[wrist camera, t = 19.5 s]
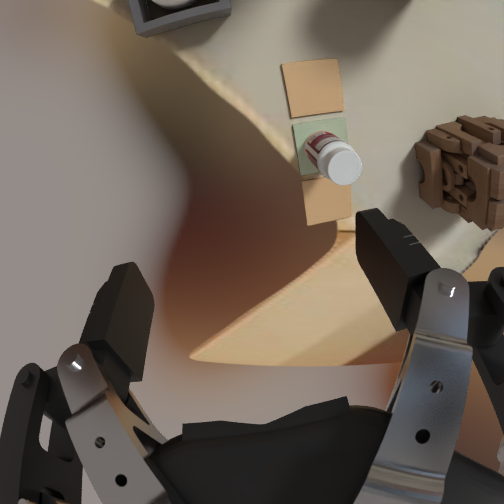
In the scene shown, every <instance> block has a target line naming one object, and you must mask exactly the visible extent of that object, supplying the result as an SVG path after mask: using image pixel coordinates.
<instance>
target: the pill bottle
mask: <svg viewBox="0 0 504 504" xmlns="http://www.w3.org/2000/svg"><path fill="white" fill-rule="evenodd" d="M305 153H306V156H307V158H308V159H309V160H310V161H311V162H312V163H313V165H314V166H315V167H316V168H317V169H318V170H319V172H320V173H321V174H322V175H323V176H324V177H326V178H328V179H330V180H331V181H333V182H334V183H335V184H338V185H349V184H351V183H353V182H355V181H356V180H357V179H358V177H359V176H360V174H361V171H362V162H361V159H360V158H359V156H358V155H357V154H356V153H355V151H354V149H353V148H352V147H351V146H350V145H349V144H347V143H346V142H344V141H343V140H341V139H340V138H339V137H337V136H336V135H334V134H332V133H331V132H328V131H324V130H321V131H317V132H314V133H313V134H311V135H310V136H309V137H308V139H307V140H306V143H305Z"/></svg>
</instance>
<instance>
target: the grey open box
mask: <svg viewBox="0 0 504 504" xmlns="http://www.w3.org/2000/svg"><path fill="white" fill-rule="evenodd" d="M128 2H129V6H130V10H131V14H132V18H133V22H134V26H135V30H136V34H137V35H140V36H143V37H146V38H148V37H151V36H154V35H157V34H160V33H163V32H166V31H169V30H172V29H175V28H179V27H182V26H186V25H189V24H193V23H197V22H201V21H205V20H209V19H213V18H218V17H223V16H228V15H231V9H232V7H231V3H230V0H218V2H216V3H211V4H207V5H203V6H198V7H195V8H191V9H187V10H183V11H180V12H176V13H173V14H170V15H166V16H163V17H160V18H157V19H154V20H151V18H150V14H149V10H148V6H147V2H146V0H128Z"/></svg>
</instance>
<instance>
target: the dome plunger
mask: <svg viewBox="0 0 504 504" xmlns="http://www.w3.org/2000/svg"><path fill="white" fill-rule="evenodd" d="M152 1H153V2H155V3H156V4H157V5H158V6H160V7H162V8H164V9H169V10H177V9H182V8H185V7H188V6H190V5H192V4H193V3H194V2H196V1H197V0H152Z"/></svg>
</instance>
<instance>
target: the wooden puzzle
mask: <svg viewBox="0 0 504 504" xmlns="http://www.w3.org/2000/svg"><path fill="white" fill-rule="evenodd" d="M457 119H458V123H457V122H450V123H445V124H441V125H437V126H436V128H435V129H431V130H427V131H426V136H427V141H425V140H423V141H420V142H416V143H415V150H416V158H417V160H418V161H419V162H420V163H421V165H422V167H423V170H424V174H425V181H423V182H420V183H419V194H420V198H422V199H423V200H424V201H425V202H426V203H427V204H428V205H430V206H431V207H432V208H433V209H434V208H436V207H439V206H441V207H442V208H443V209H444V210H446V211H448V212H450V213H458V214H459V215H460V216H461V217H462V218H463V219H465V220H466V221H467V222H468V223H470V222H472V221H473V222H474V223H475V224H476V225H477V226H478V227H480V228H481V229H482V230H484V229H486V228H488V229H489V230H490V231H491V232H492V231H494V230H496V229H502V228H503V227H504V120H502V119H500V120H498V119H496V118H489V117H486V116H482V117H477V118H471V117H468V116H466V115H464V116H460V117H457ZM463 131H464V132H463ZM465 132H466V133H465ZM467 133H468V134H467ZM469 134H470V135H469Z"/></svg>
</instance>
